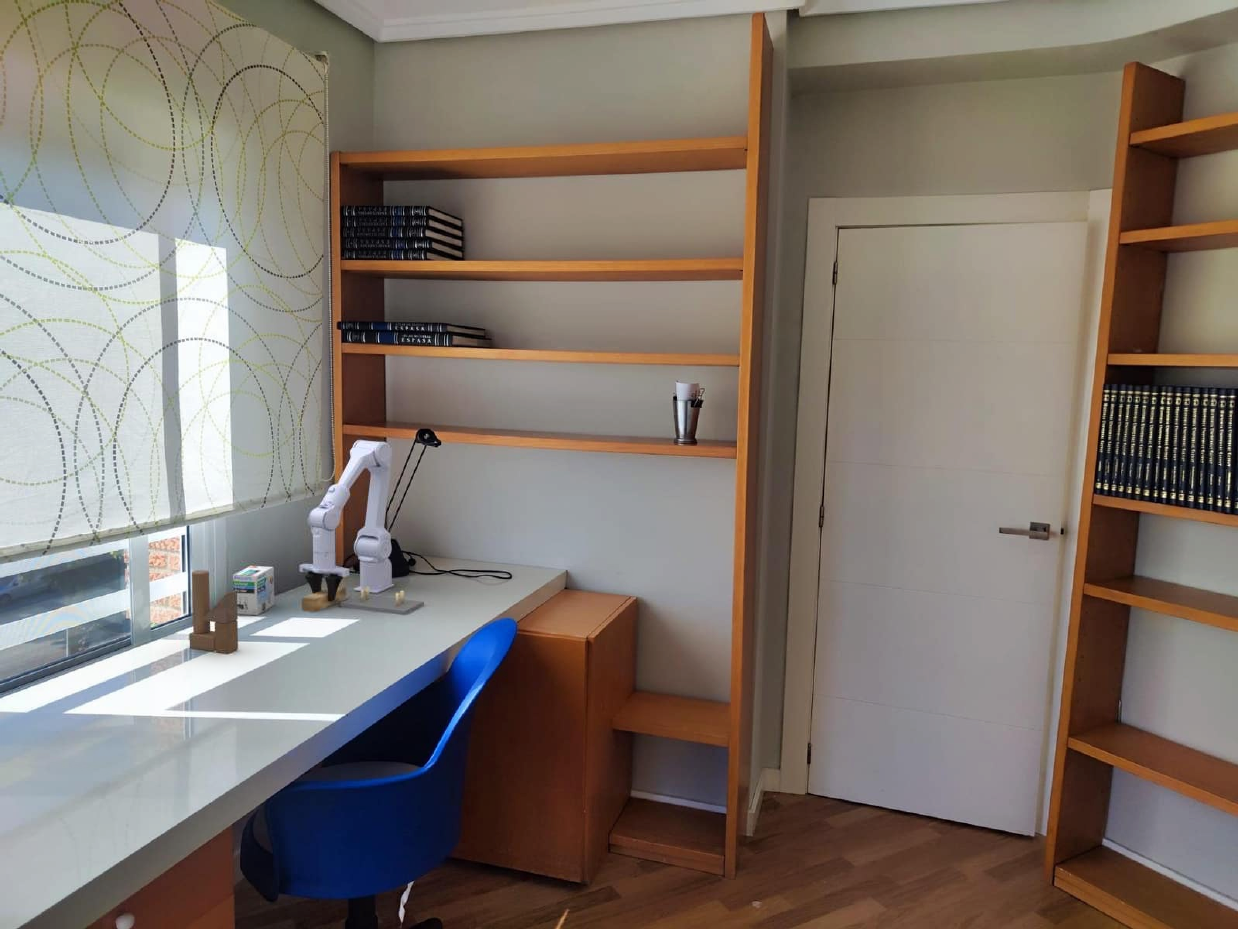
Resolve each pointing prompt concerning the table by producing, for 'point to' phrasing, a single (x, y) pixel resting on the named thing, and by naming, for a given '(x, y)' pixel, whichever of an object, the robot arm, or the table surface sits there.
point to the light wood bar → (322, 600)
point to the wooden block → (213, 617)
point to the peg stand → (382, 603)
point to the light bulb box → (254, 589)
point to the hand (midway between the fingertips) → (324, 599)
